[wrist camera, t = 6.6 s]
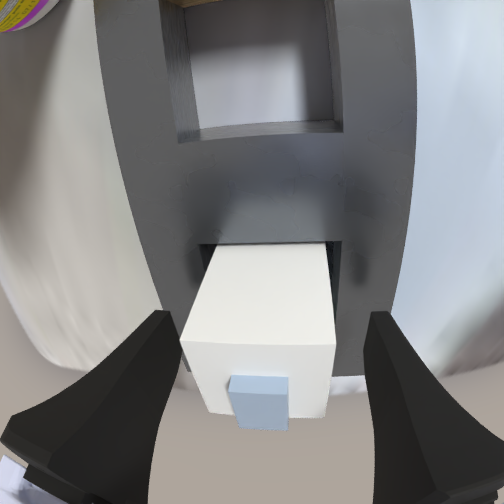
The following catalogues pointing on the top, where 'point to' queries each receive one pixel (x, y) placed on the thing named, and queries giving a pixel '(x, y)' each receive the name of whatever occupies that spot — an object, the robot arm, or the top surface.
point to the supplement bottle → (22, 13)
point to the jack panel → (268, 159)
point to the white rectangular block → (263, 333)
